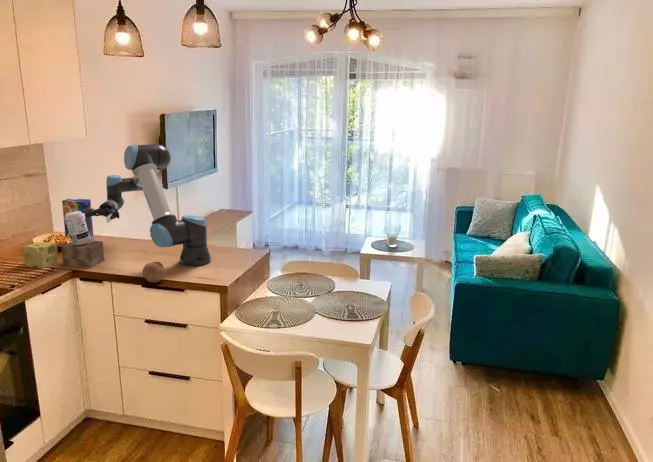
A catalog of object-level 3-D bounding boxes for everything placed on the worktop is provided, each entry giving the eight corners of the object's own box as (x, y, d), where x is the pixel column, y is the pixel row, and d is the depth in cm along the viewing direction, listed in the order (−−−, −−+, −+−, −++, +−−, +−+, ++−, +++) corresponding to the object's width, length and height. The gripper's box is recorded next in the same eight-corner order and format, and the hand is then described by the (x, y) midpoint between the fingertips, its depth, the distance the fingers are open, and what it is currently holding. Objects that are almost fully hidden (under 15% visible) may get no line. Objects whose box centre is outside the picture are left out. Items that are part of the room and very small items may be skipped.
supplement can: (75, 241, 252) (66, 212, 247) (92, 238, 253) (84, 209, 248) (70, 247, 244) (61, 217, 239) (88, 244, 245) (79, 214, 240)
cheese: (43, 268, 242) (41, 248, 240) (23, 266, 244) (21, 246, 242) (58, 262, 252) (56, 242, 250) (39, 260, 254) (37, 240, 252)
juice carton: (94, 241, 289) (90, 199, 283) (86, 245, 282) (82, 201, 276) (74, 240, 291) (70, 198, 285) (66, 243, 284) (61, 200, 278)
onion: (162, 285, 233) (170, 265, 234) (156, 287, 224) (166, 266, 224) (142, 277, 233) (151, 257, 233) (136, 279, 223) (145, 257, 224)
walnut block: (104, 260, 257) (102, 241, 254) (91, 268, 245) (90, 248, 243) (77, 259, 258) (75, 240, 255) (63, 266, 246) (61, 246, 244)
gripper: (132, 215, 278) (119, 227, 258) (85, 214, 277) (68, 226, 257) (131, 201, 276) (118, 212, 256) (83, 201, 274) (66, 212, 254)
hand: (93, 219), depth 256 cm, fingers open, 13 cm apart
